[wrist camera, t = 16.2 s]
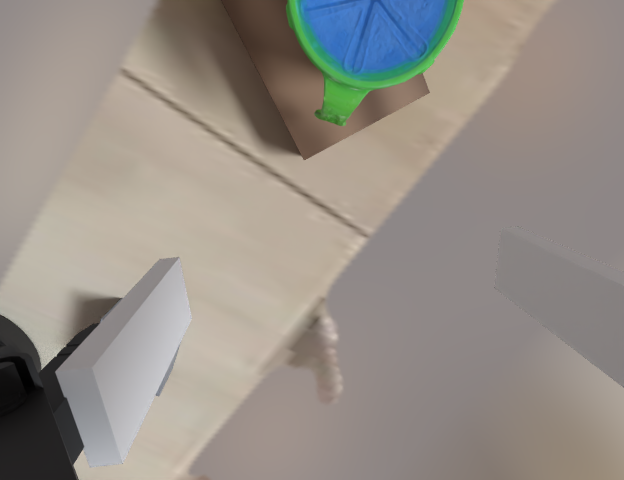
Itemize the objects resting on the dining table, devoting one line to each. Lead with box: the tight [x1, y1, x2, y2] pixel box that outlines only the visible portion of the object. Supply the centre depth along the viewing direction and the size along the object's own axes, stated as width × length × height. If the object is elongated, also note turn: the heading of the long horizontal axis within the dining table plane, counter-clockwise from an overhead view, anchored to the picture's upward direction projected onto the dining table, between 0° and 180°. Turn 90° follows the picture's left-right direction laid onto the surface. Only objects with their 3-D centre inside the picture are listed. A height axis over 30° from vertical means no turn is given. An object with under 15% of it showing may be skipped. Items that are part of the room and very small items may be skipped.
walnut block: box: [221, 0, 430, 160], centre depth 32 cm, size 13×17×5 cm
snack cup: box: [286, 0, 464, 126], centre depth 25 cm, size 16×10×10 cm
